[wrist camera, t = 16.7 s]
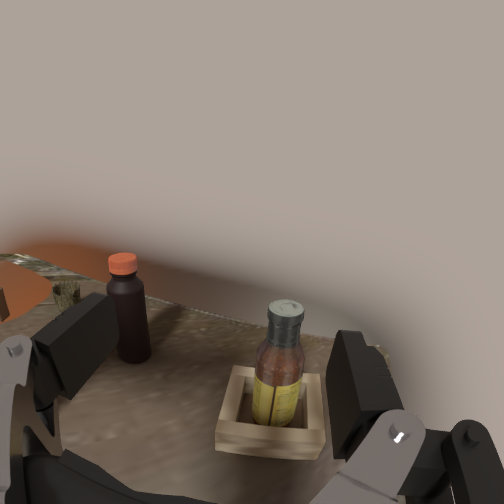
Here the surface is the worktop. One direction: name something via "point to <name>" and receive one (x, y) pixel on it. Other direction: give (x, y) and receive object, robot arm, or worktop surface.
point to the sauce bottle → (279, 366)
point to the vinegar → (129, 308)
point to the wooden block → (3, 307)
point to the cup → (66, 295)
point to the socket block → (267, 437)
